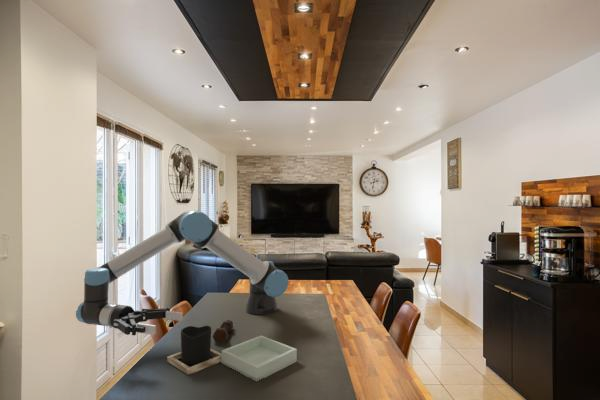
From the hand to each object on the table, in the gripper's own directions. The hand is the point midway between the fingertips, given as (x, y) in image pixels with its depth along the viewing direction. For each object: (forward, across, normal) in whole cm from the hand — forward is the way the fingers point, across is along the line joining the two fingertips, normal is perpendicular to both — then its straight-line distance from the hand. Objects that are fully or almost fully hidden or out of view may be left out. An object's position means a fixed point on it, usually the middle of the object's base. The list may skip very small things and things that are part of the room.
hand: (169, 323), depth 112 cm
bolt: (+8, -22, -11) cm, 27 cm away
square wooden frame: (+10, 0, -11) cm, 15 cm away
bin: (+30, -5, -11) cm, 32 cm away
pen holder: (+10, 0, -11) cm, 15 cm away
